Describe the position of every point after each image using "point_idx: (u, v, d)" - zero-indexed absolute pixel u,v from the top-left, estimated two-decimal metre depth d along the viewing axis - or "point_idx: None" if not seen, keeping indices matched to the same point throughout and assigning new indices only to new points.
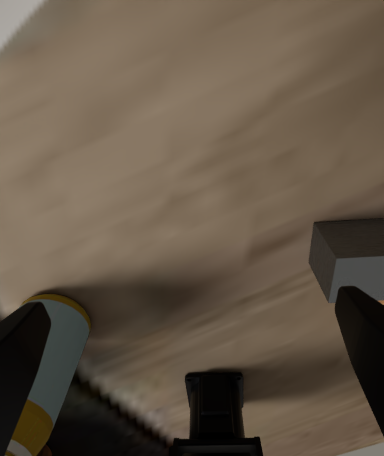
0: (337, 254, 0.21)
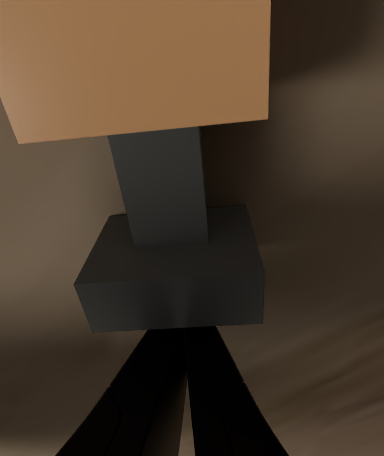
0: None
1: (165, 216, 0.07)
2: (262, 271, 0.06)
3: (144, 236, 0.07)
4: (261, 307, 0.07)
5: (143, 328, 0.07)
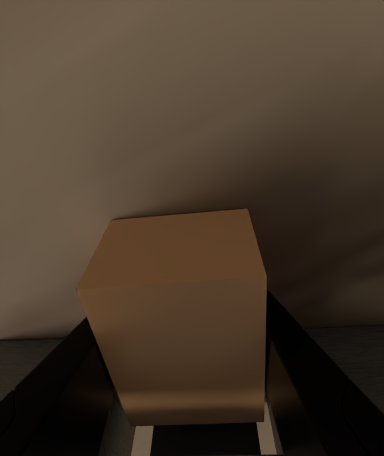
0: None
1: None
2: None
3: (187, 428, 0.12)
4: None
5: None
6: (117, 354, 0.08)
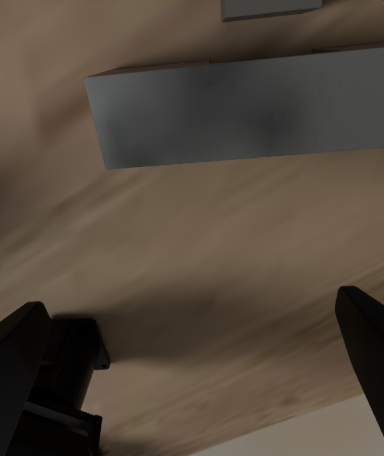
0: (92, 75, 0.13)
1: None
2: None
3: None
4: None
5: (254, 13, 0.13)
6: None
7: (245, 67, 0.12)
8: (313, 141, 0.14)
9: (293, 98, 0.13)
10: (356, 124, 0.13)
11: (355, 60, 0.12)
